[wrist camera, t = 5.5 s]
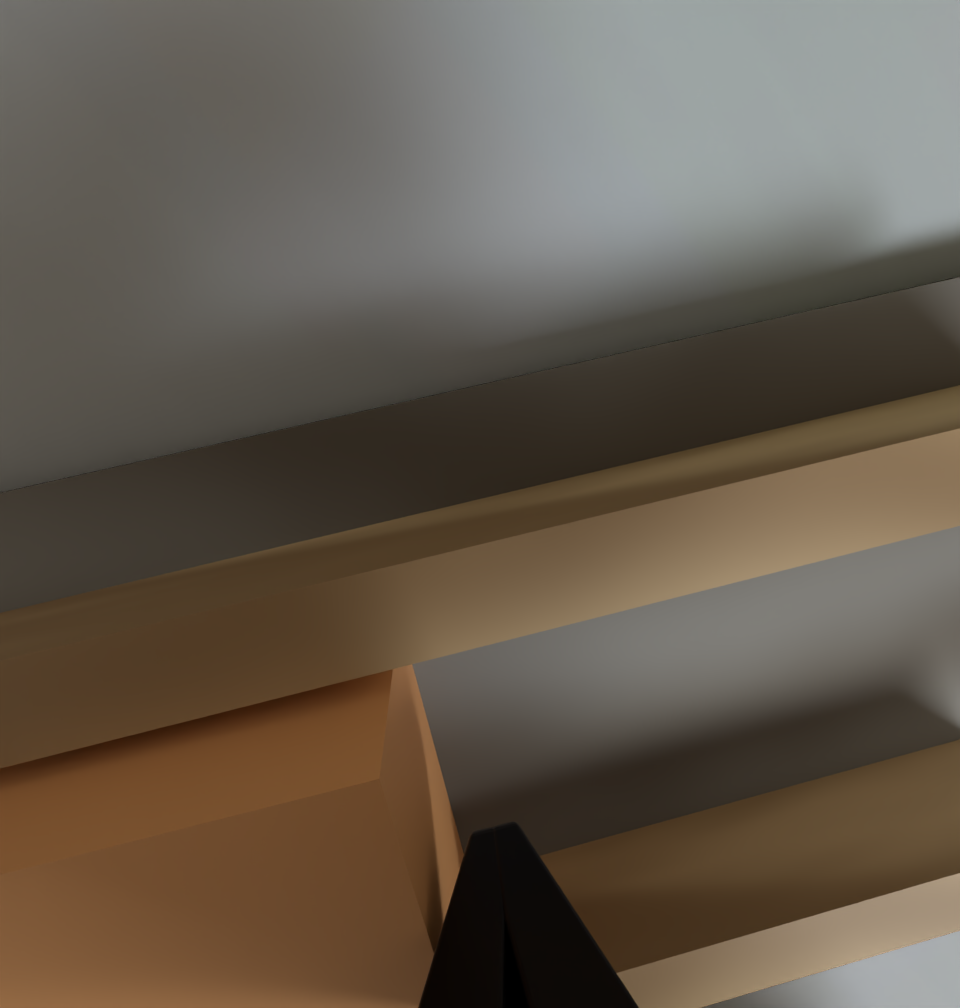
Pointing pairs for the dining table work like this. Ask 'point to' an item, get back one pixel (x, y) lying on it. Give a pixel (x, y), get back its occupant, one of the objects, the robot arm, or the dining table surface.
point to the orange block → (233, 859)
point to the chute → (580, 623)
